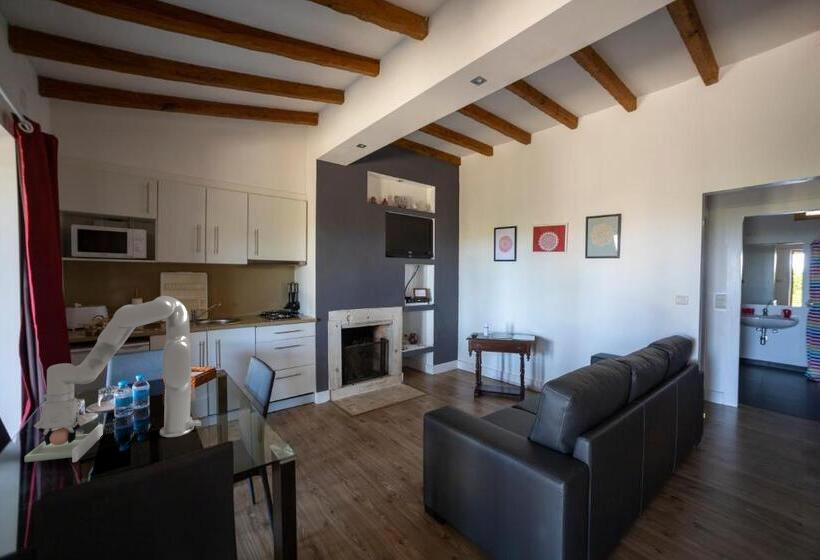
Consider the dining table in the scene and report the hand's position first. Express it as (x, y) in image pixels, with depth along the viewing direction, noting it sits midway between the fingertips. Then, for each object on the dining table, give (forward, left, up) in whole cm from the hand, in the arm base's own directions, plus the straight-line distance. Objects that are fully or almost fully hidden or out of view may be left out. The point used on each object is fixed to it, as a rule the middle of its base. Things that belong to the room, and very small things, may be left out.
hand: (60, 441), depth 136 cm
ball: (0, 0, +2) cm, 2 cm away
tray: (0, 0, -3) cm, 3 cm away
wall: (-9, +1, -3) cm, 10 cm away
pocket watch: (+2, -13, -3) cm, 13 cm away
